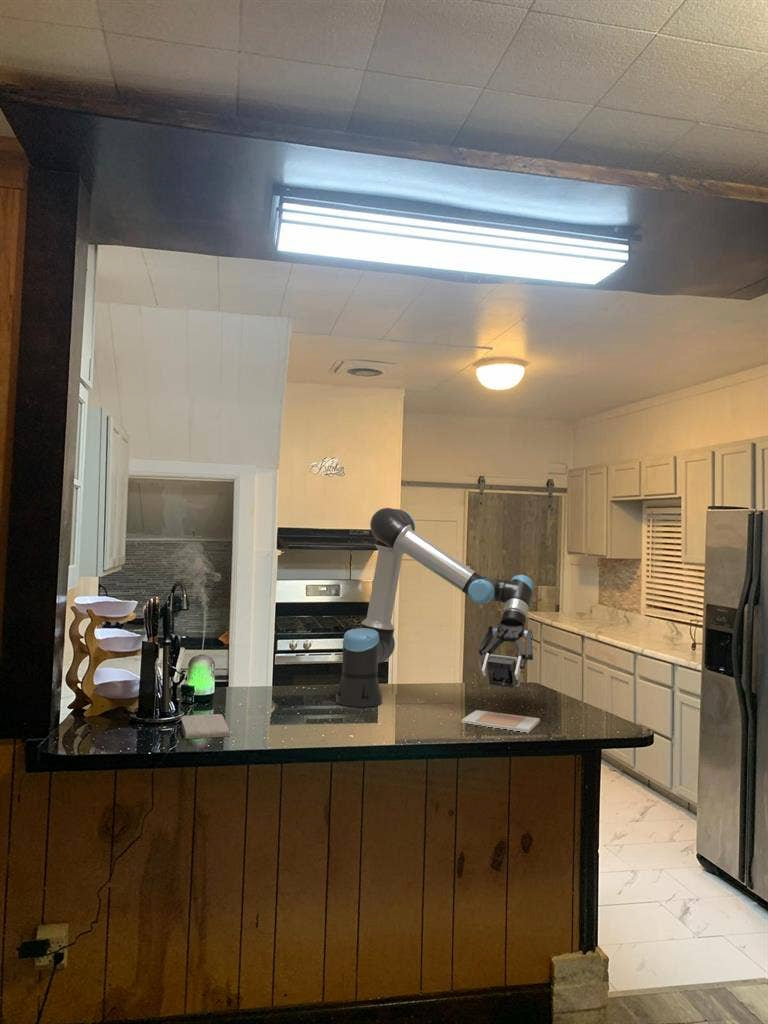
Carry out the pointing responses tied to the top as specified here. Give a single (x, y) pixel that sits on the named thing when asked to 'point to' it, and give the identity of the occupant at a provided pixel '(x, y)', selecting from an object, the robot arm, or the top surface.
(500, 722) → the mounting plate
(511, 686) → the electrical switch
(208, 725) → the washcloth
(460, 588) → the robot arm
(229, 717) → the top surface
